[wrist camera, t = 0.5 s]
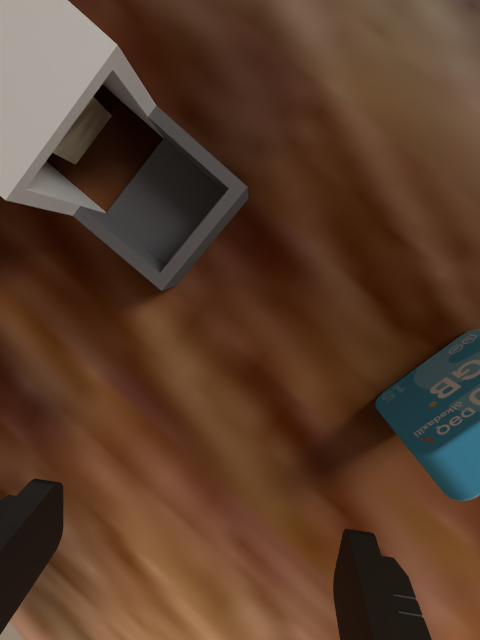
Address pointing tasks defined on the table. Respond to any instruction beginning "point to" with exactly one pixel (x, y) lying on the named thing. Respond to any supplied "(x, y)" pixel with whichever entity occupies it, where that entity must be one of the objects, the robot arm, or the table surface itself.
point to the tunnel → (53, 95)
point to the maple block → (83, 132)
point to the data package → (442, 415)
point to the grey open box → (169, 207)
